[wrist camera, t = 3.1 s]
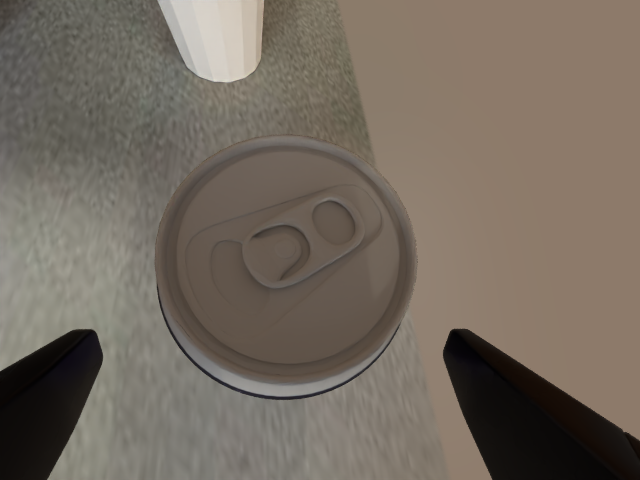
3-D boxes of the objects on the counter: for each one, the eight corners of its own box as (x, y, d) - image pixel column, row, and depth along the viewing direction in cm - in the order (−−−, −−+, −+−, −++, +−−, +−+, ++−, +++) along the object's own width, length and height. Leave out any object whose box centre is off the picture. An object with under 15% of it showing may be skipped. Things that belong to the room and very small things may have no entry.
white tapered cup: (234, 7, 24) (219, -120, 17) (288, 65, 23) (293, -49, 16) (152, 39, 22) (100, -93, 15) (207, 104, 21) (176, -8, 14)
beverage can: (209, 293, 17) (77, 186, 5) (298, 244, 18) (336, 84, 7) (260, 389, 16) (223, 501, 4) (350, 328, 17) (494, 294, 6)
